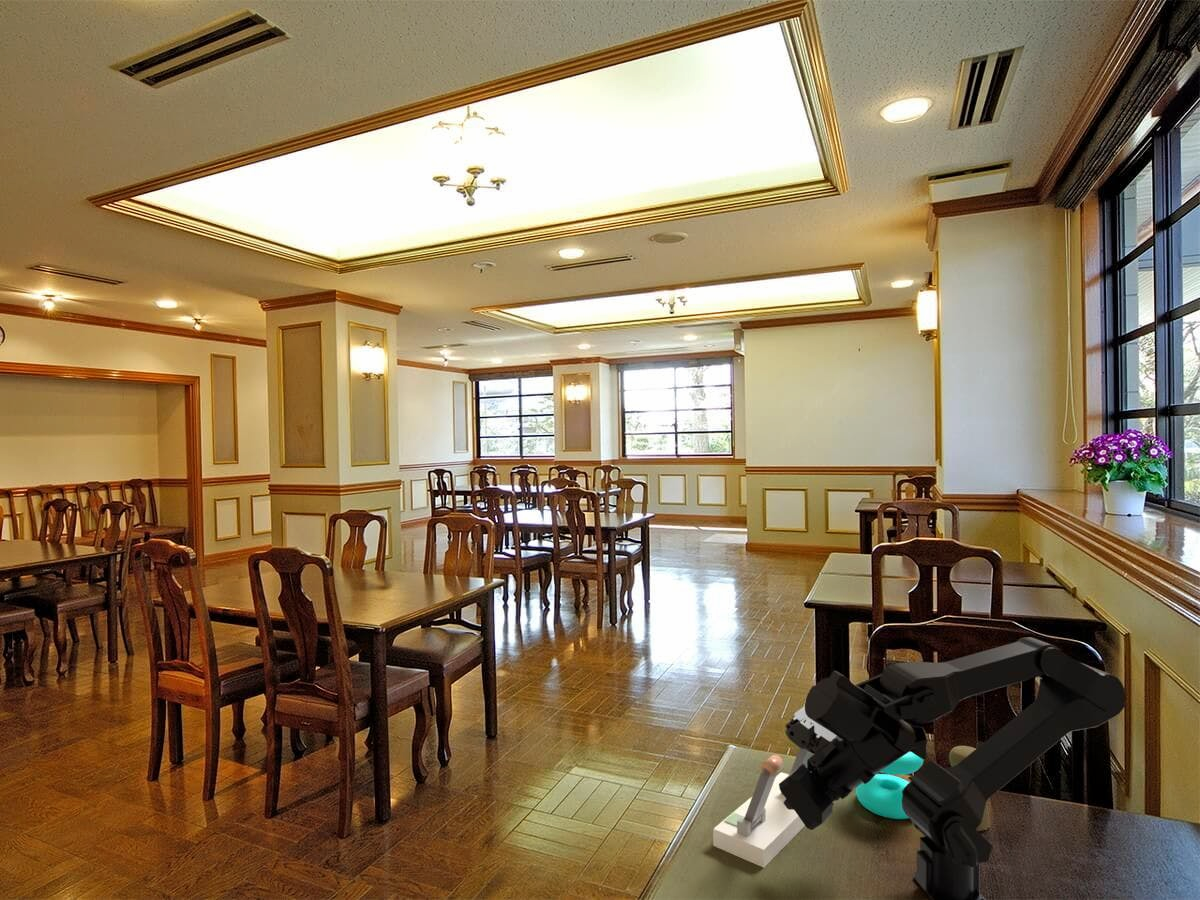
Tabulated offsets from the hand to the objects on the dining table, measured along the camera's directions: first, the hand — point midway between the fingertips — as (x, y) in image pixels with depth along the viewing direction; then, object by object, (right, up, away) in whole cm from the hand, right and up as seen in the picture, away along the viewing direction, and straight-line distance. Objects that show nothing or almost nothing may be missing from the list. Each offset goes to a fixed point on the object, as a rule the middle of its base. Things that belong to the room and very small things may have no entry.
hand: (786, 805), depth 96 cm
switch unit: (0, -7, +9) cm, 12 cm away
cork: (+30, -7, +9) cm, 33 cm away
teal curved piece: (+20, -7, +14) cm, 26 cm away
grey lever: (+5, -4, +14) cm, 16 cm away
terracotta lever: (-4, -4, +4) cm, 7 cm away
